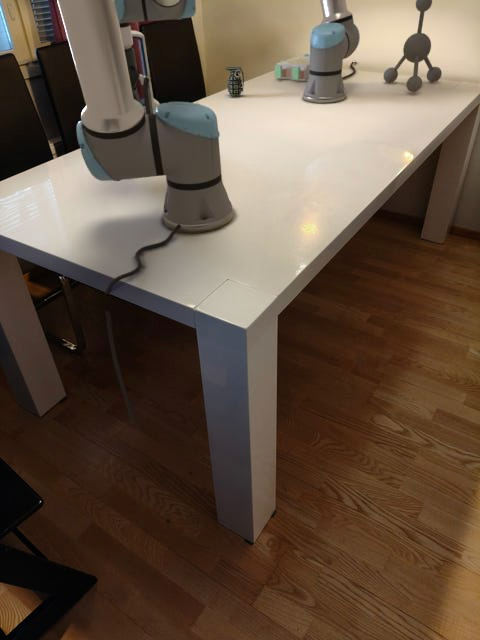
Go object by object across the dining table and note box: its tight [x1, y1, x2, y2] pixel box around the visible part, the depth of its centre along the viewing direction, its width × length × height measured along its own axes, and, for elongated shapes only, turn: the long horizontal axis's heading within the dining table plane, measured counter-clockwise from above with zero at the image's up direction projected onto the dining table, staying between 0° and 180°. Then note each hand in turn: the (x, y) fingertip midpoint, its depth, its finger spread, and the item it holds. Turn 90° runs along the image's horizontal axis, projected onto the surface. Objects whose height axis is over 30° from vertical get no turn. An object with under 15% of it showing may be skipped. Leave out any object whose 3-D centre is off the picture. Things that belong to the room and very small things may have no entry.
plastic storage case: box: [274, 53, 310, 82], centre depth 211 cm, size 26×6×20 cm
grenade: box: [225, 66, 245, 98], centre depth 187 cm, size 7×6×10 cm
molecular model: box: [383, 0, 443, 93], centre depth 180 cm, size 24×22×30 cm
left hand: (135, 147), depth 128 cm, fingers closed on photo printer, 4 cm apart
